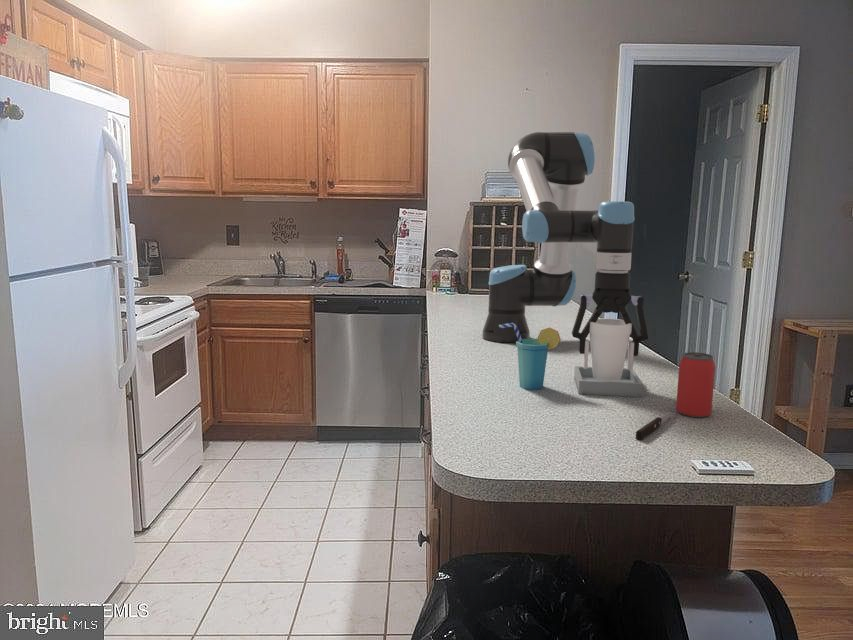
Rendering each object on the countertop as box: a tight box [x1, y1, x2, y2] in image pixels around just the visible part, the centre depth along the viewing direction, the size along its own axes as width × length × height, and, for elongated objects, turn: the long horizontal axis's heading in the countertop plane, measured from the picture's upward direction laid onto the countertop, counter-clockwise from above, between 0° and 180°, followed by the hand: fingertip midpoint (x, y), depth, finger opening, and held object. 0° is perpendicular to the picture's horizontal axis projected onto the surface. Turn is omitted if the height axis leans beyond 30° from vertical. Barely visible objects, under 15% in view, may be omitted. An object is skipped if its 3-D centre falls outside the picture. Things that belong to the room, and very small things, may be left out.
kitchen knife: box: [635, 411, 674, 441], centre depth 115 cm, size 18×1×2 cm, turn 140°
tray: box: [573, 365, 644, 398], centre depth 142 cm, size 14×14×3 cm
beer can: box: [675, 351, 716, 419], centre depth 123 cm, size 7×7×12 cm
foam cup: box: [588, 317, 633, 381], centre depth 141 cm, size 10×9×13 cm
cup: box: [499, 323, 562, 391], centre depth 141 cm, size 14×8×15 cm, turn 86°
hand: (607, 368), depth 142 cm, fingers closed on foam cup, 9 cm apart
